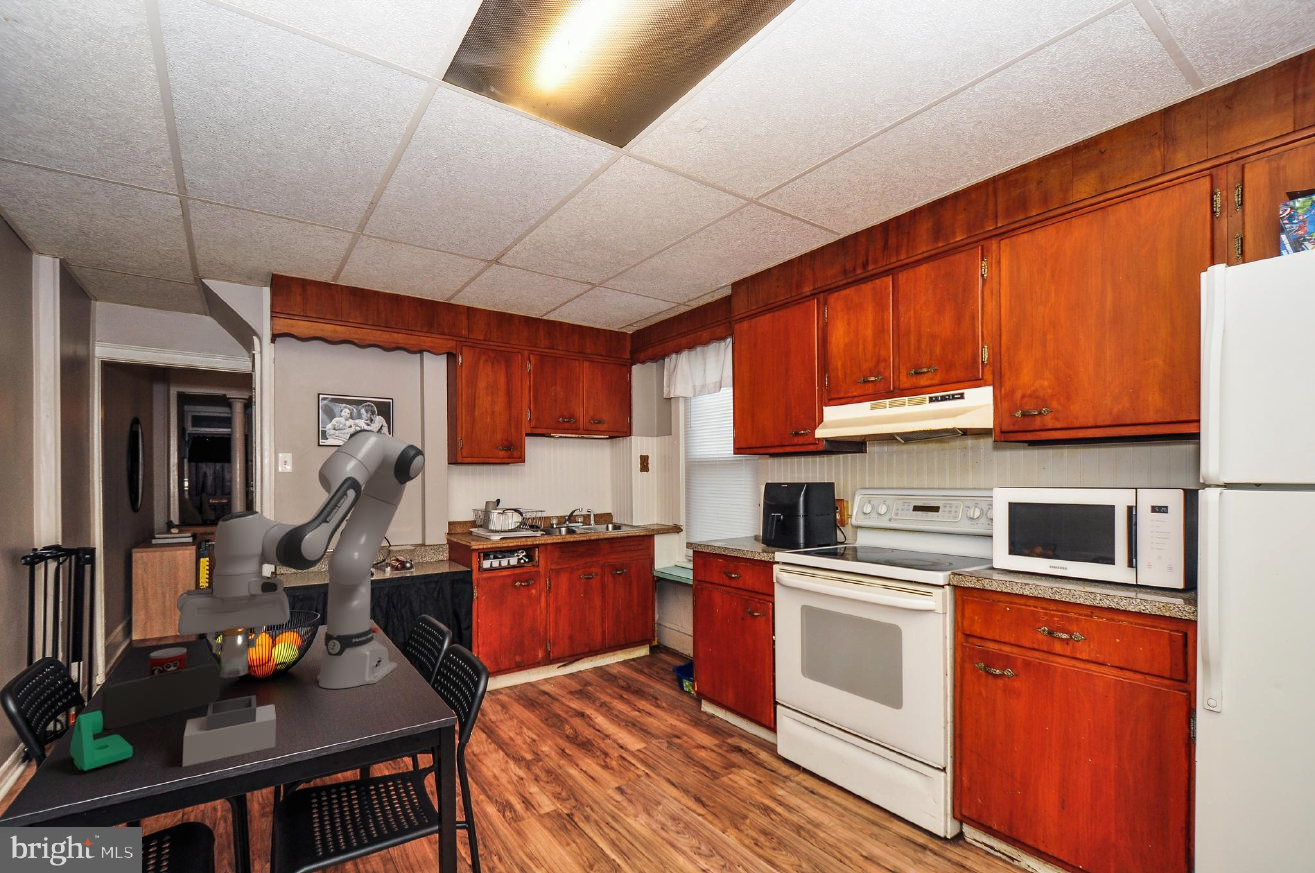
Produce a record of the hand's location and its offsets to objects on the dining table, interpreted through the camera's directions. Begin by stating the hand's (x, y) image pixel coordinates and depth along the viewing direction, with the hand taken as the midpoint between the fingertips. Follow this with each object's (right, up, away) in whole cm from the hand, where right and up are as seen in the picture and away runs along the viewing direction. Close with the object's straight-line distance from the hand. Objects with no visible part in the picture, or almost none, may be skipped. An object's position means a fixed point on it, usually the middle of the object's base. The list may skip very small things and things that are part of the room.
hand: (234, 649), depth 135 cm
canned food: (-40, -23, +31) cm, 55 cm away
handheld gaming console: (-29, -22, +17) cm, 40 cm away
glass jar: (0, -5, 0) cm, 5 cm away
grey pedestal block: (0, -21, -1) cm, 21 cm away
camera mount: (-23, -21, -7) cm, 32 cm away
